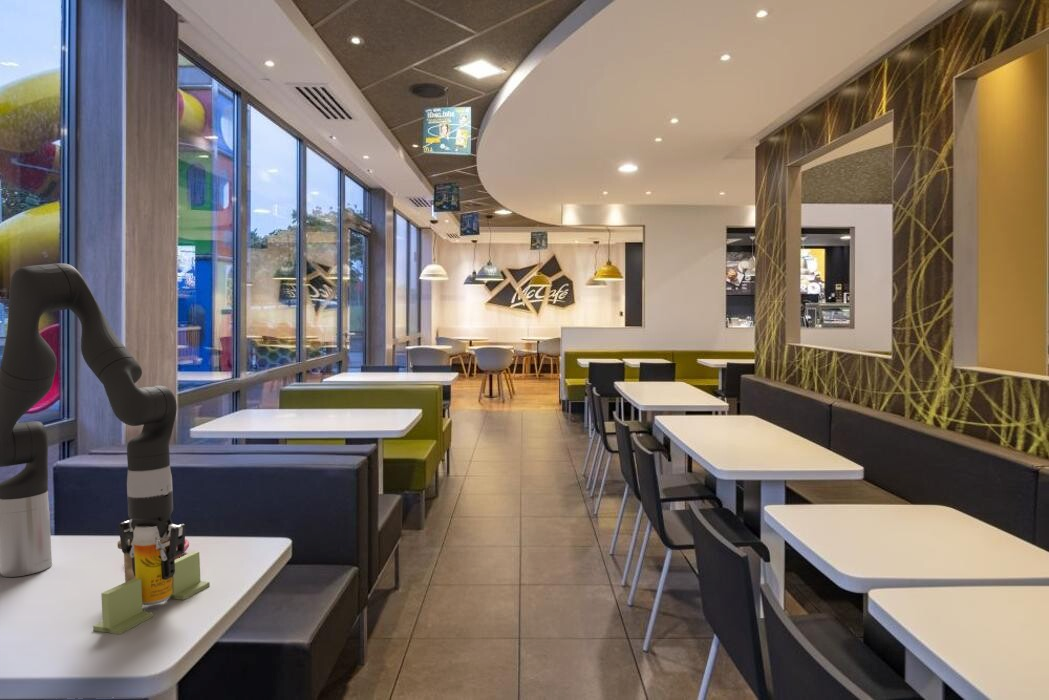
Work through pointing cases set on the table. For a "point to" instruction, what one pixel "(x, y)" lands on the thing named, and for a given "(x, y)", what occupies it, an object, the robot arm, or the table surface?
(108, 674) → the table surface
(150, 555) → the beer can
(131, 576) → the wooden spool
